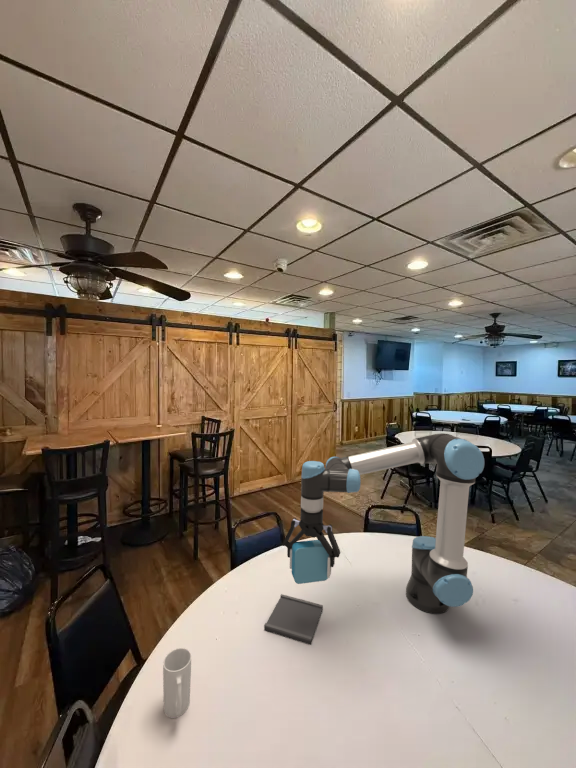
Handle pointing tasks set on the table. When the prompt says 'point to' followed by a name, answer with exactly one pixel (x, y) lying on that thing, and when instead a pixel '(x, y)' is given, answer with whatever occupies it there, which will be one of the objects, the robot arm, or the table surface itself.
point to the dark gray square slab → (294, 619)
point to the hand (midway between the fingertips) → (310, 570)
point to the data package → (309, 562)
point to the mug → (176, 682)
